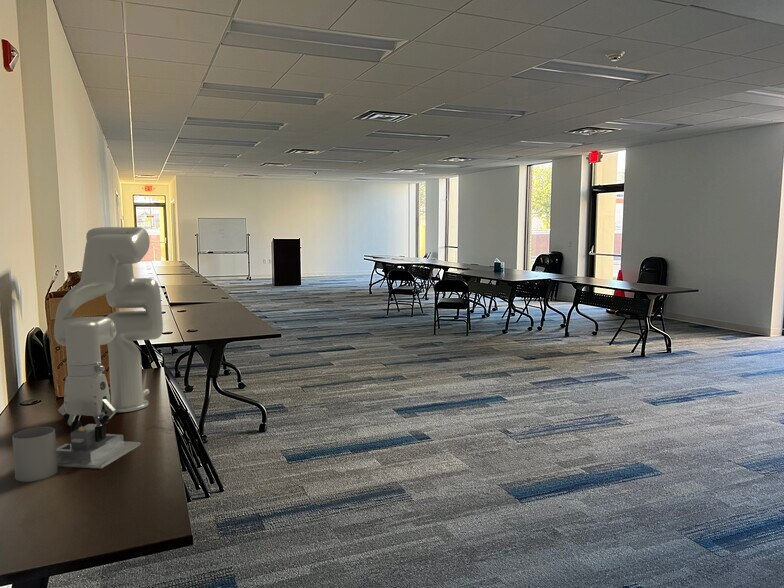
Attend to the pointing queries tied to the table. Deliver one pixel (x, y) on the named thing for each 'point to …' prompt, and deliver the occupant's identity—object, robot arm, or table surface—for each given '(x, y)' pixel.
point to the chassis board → (95, 453)
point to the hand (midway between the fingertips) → (88, 439)
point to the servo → (84, 438)
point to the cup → (34, 454)
